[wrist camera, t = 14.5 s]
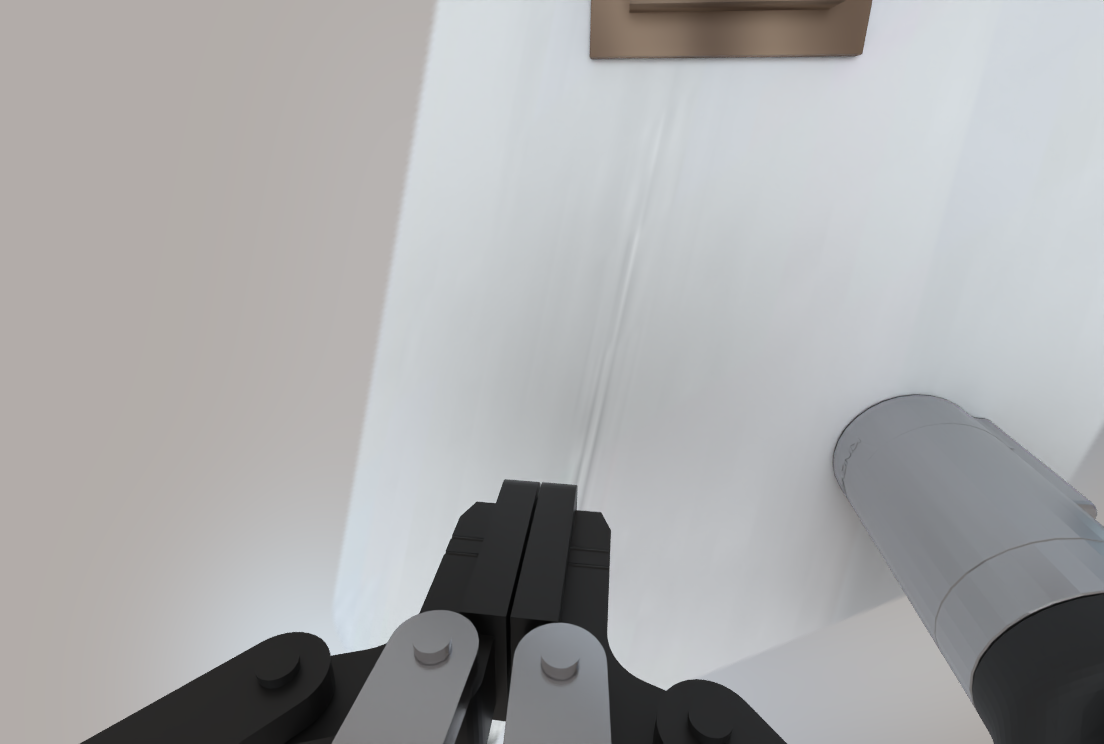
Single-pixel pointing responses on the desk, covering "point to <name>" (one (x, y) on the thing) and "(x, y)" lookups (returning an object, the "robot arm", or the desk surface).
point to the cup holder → (727, 28)
